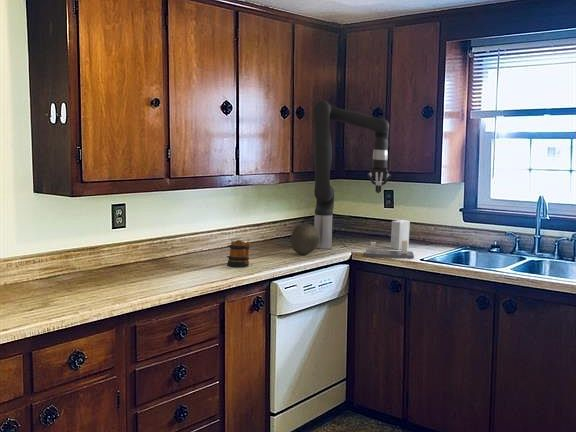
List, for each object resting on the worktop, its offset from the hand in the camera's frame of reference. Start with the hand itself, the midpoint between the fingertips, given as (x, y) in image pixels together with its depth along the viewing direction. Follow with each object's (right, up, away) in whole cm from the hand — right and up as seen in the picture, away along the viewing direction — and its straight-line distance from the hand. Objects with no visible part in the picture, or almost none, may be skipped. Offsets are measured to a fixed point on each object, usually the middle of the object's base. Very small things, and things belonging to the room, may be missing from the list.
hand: (378, 192), depth 327 cm
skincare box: (+13, -29, +10) cm, 33 cm away
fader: (+11, -30, -13) cm, 34 cm away
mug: (-67, -34, -46) cm, 88 cm away
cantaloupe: (-38, -31, -15) cm, 51 cm away
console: (+4, -31, -11) cm, 33 cm away
